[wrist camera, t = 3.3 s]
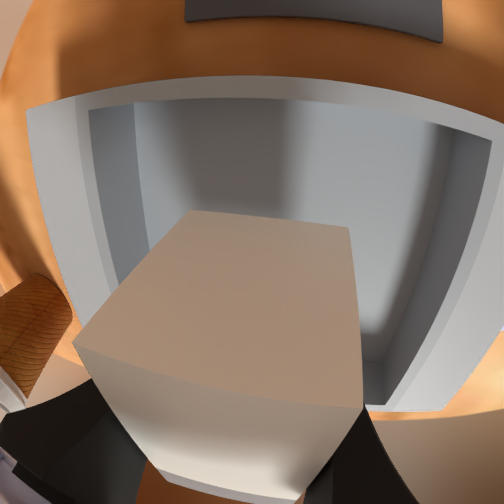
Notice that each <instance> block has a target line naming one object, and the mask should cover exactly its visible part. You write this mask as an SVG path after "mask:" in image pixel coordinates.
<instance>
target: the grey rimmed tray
mask: <svg viewBox="0 0 504 504" xmlns="http://www.w3.org/2000/svg"><path fill="white" fill-rule="evenodd" d="M26 119H27V128H28V137H29V144H30V151H31V158H32V164H33V169H34V175H35V180H36V185H37V190H38V194H39V199H40V203H41V207H42V211H43V215H44V219H45V223H46V227H47V230H48V234H49V237H50V241H51V244H52V247H53V251H54V254H55V257H56V260H57V263H58V266H59V269H60V272H61V275H62V277H63V280H64V283H65V286H66V288H67V291H68V294H69V296H70V299H71V301H72V304H73V306H74V309H75V311H76V313H77V316H78V318H79V320H80V323H81V325H82V327H83V328H84V327H85V325H86V324H87V323H88V322H89V321H90V319H91V318H92V317H93V316H94V314H95V313H96V312H97V311H98V310H99V308H100V307H101V306H102V305H103V304H104V303H105V301H106V300H107V299H108V298H109V297H110V296H111V294H112V293H113V292H114V291H115V290H116V289H117V287H118V286H119V285H120V284H121V283H122V282H123V281H124V280H125V278H126V277H127V276H128V275H129V274H130V273H131V272H132V271H133V269H134V268H135V267H136V266H137V265H138V264H139V263H140V262H141V261H142V259H143V258H144V257H145V256H146V255H147V254H148V253H149V252H150V251H151V250H152V249H153V248H154V247H155V245H156V244H157V243H158V242H159V241H160V240H161V239H162V238H163V237H164V236H165V235H166V234H167V233H168V232H169V231H170V230H171V229H172V228H173V227H174V225H175V224H176V223H177V222H178V221H179V220H180V219H181V218H182V217H183V216H184V215H185V214H186V213H187V212H188V211H189V210H199V211H210V212H220V213H231V214H240V215H250V216H259V217H269V218H277V219H286V220H295V221H303V222H311V223H319V224H327V225H335V226H342V227H348V229H349V235H350V242H351V249H352V256H353V264H354V272H355V281H356V290H357V300H358V311H359V322H360V336H361V352H362V375H363V401H364V403H365V406H366V409H367V411H385V412H421V411H441V410H442V409H443V408H444V407H445V406H446V405H447V404H448V402H449V401H450V400H451V399H452V398H453V396H454V395H455V394H456V393H457V392H458V390H459V389H460V388H461V387H462V385H463V384H464V383H465V381H466V380H467V379H468V378H469V376H470V375H471V374H472V372H473V371H474V369H475V368H476V367H477V365H478V364H479V362H480V361H481V360H482V358H483V357H484V355H485V354H486V352H487V351H488V349H489V348H490V346H491V345H492V343H493V342H494V340H495V339H496V337H497V335H498V334H499V332H500V331H501V329H502V327H503V326H504V124H503V123H500V122H498V121H495V120H493V119H490V118H487V117H485V116H482V115H479V114H476V113H474V112H471V111H468V110H465V109H462V108H458V107H455V106H452V105H449V104H445V103H442V102H439V101H435V100H431V99H428V98H424V97H420V96H416V95H412V94H407V93H403V92H398V91H394V90H389V89H384V88H378V87H373V86H367V85H361V84H354V83H348V82H340V81H332V80H323V79H313V78H301V77H285V76H256V75H234V76H205V77H190V78H178V79H168V80H159V81H151V82H143V83H137V84H130V85H124V86H118V87H113V88H108V89H103V90H98V91H93V92H88V93H84V94H80V95H76V96H72V97H68V98H64V99H60V100H57V101H53V102H50V103H46V104H43V105H40V106H37V107H33V108H30V109H27V110H26Z"/></svg>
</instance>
